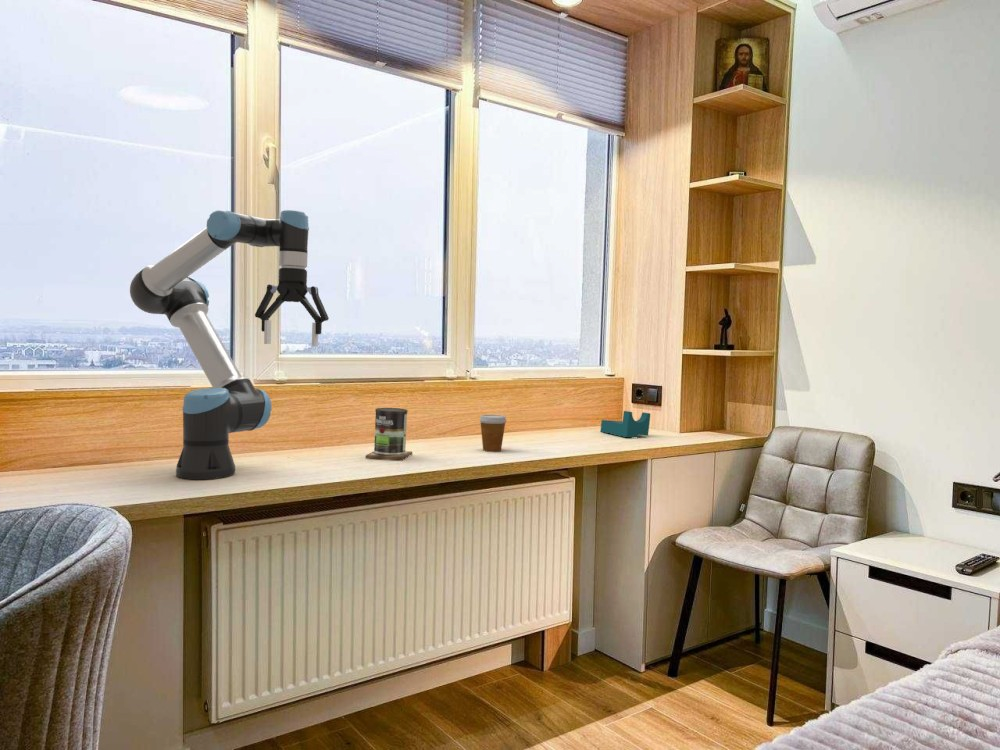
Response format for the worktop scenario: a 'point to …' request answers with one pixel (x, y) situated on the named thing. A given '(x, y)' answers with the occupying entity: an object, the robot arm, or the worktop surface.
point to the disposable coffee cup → (492, 431)
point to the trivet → (388, 456)
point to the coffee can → (390, 431)
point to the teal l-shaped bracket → (627, 425)
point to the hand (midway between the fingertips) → (291, 345)
